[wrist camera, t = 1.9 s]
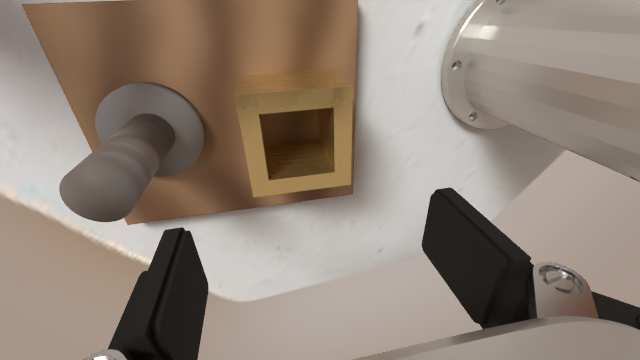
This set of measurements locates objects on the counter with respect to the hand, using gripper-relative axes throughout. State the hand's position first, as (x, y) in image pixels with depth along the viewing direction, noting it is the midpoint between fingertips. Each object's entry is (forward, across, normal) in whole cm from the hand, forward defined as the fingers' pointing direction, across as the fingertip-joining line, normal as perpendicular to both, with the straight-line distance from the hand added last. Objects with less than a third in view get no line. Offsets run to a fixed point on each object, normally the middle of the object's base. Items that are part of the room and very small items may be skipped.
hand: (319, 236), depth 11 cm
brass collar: (+15, 0, 0) cm, 15 cm away
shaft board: (+16, +4, 0) cm, 17 cm away
